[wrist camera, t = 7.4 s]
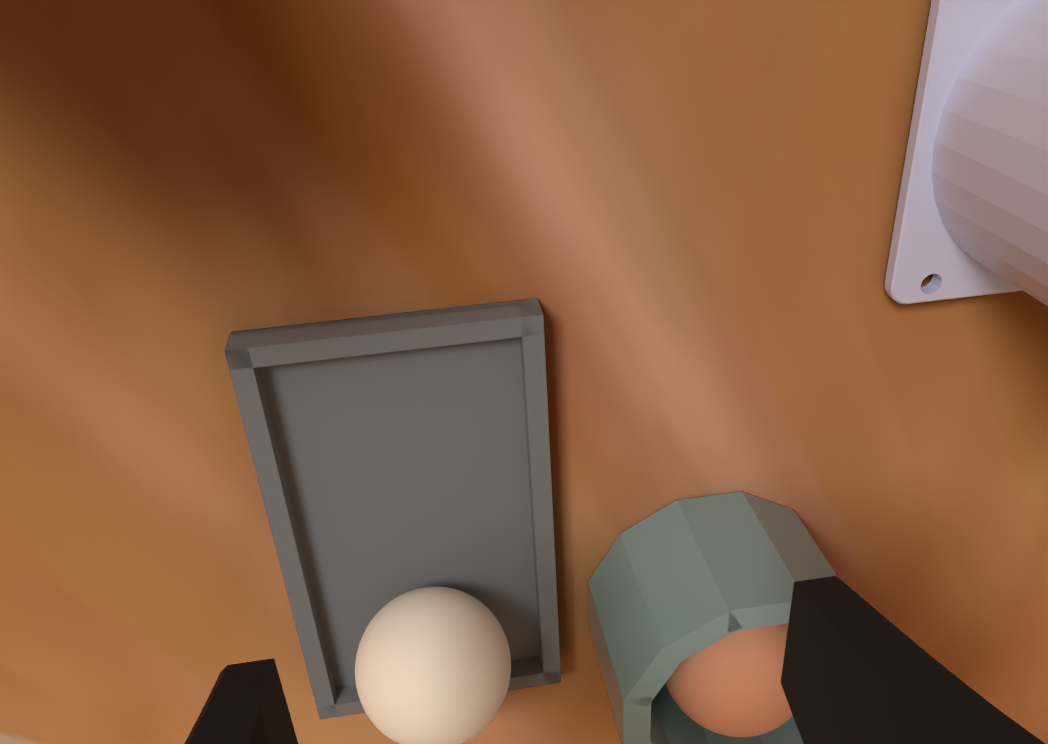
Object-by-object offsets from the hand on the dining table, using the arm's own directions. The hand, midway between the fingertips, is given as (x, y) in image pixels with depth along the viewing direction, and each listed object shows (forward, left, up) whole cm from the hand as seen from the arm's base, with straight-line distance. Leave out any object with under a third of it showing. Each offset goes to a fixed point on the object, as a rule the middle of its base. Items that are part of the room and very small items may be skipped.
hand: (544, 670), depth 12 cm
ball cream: (+2, +8, -10) cm, 13 cm away
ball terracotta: (-6, +9, -9) cm, 14 cm away
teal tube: (-6, +9, -10) cm, 15 cm away
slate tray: (+2, +5, -10) cm, 11 cm away
